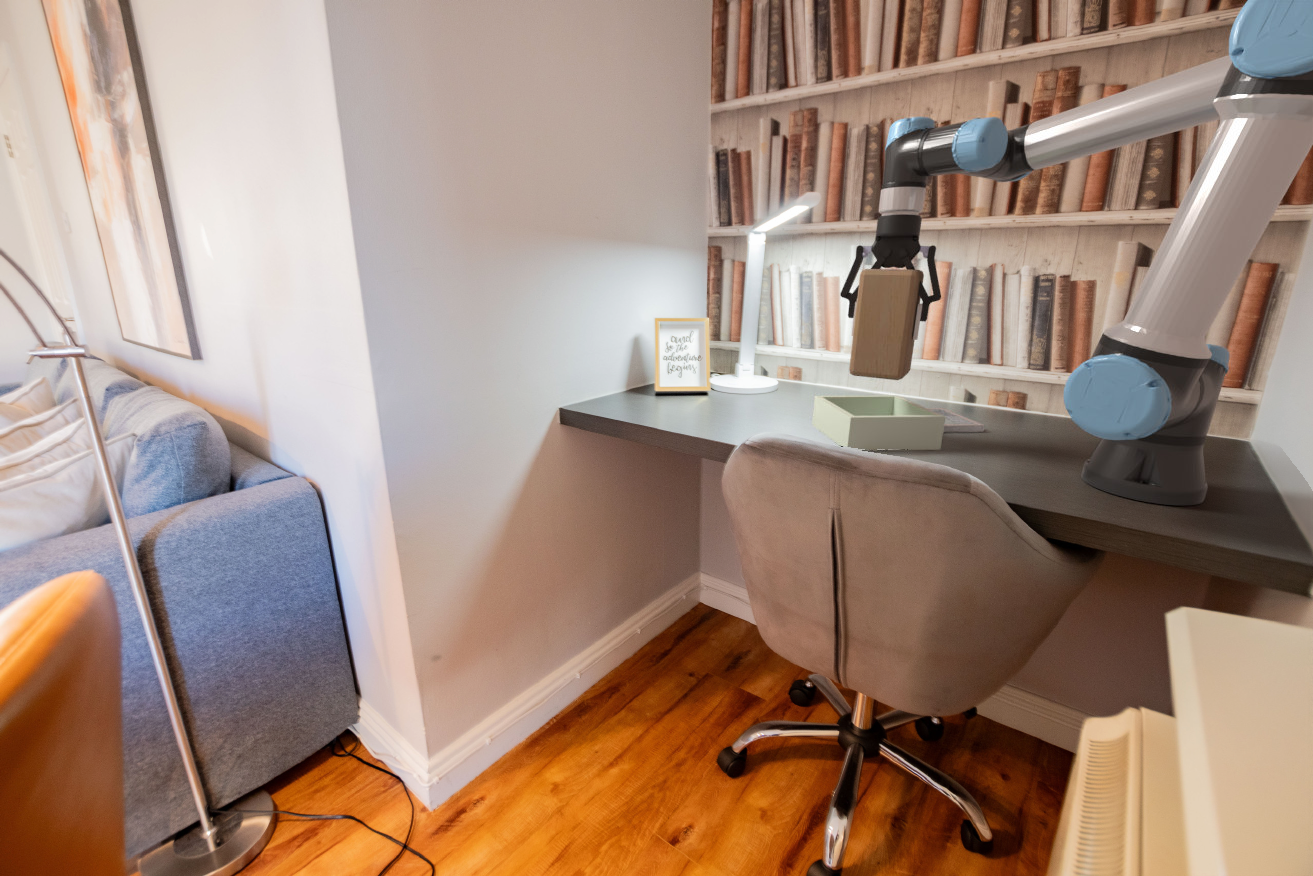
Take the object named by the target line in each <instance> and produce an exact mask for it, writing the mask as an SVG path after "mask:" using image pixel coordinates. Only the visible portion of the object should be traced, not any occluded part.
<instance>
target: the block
mask: <svg viewBox="0 0 1313 876" xmlns="http://www.w3.org/2000/svg"><path fill="white" fill-rule="evenodd" d="M924 278H925V274H924V271H922V270H920V269H915V270H907V269H906V268H905V269H904V268H896V269H895V268H893V269H892V268H883V269H882V268H880V269H871V268H865V269H861V272H860V274H859V279H858V283H859V284H858V285H859V289H858V297H857V306H856V315H855V324H854V333H853V336H852V343H851V351H850V360H849V369H848V370H849V374H850V375H852V376H854V377H863V378H864V377H865V378H875V379H882V380H893V381H899V380H900V381H901V380H902V379H903V378H904V377H905V376H907V375H908V374H909V373H910V370H911V367H912V360H913V353H914V346H915V340H913V336H914V329H915V322H916V315H917V308H918V303H919V304H921V300H922V299H921V297H920V295H919V293H918V290H919V283H920V280H921V282H922V284H924Z"/></svg>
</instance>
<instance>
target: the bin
mask: <svg viewBox="0 0 1313 876" xmlns="http://www.w3.org/2000/svg"><path fill="white" fill-rule="evenodd" d="M927 408H928V407H925V406H922V405H920V404H918V403H916V402H913V401H910V400H908V399H906V398H903V397H901V396H899V395H897V394H895V395H815V396H814V402H813V412H812V414H813V415H812V427H814V428H815V429H816V430H818V431H819V432H821V433H822V434H823V435H824V436H826V437H827V438H828V439H830V440H832V441H833V442H834V443H835V444H837V445H838V446H839V445H841V446H846V447H851V448H858V449H865V450H874V451H876V452H877V449H885V450H888V449H905V450H904V451H931V450H932V451H934V450H935V451H936V450H939V451H941V447H942V441H943V435H944V433H943V430H944V424H946V422H945V421H946V419H947V418H946V416H943V415H941V414H939V413H936V412H934V411H932V410H929V409H927ZM841 446H840V447H841ZM907 449H908V450H907ZM874 451H873V452H874ZM888 451H889V450H888Z"/></svg>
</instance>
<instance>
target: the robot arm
mask: <svg viewBox="0 0 1313 876" xmlns="http://www.w3.org/2000/svg"><path fill="white" fill-rule="evenodd" d="M1228 39H1229V40H1228V55H1224V56H1221V57H1219V58H1216V59H1213V60H1210V61H1208V62H1204V63H1202V64H1199V65H1196V66H1192V67H1190V68H1187V69H1184V70H1181V71H1179V72H1175V73H1172V74H1168V75H1166V76H1164V77H1163V76H1162V77H1161V78H1158V79H1155V80H1151V81H1148V82H1147V83H1146V82H1145V83H1143V84H1140V85H1137V86H1135V87H1132V88H1129V89H1126V90H1123V91H1121V92H1117V93H1115V94H1112V95H1108V96H1106V97H1103V98H1100V99H1096V100H1094V101H1091V102H1089V103H1085V104H1083V105H1080V106H1076V107H1074V108H1071V109H1068V110H1065V111H1062V112H1059V113H1056V114H1053V115H1050V116H1047V117H1044V118H1042V119H1039V120H1036V121H1033V122H1031V123H1029V124H1025V125H1022V126H1018V127H1016V128H1013V129H1010V130H1008V129H1007V128H1008V127H1007V126H1006V125H1005V124H1004V122H1003V120H1002V119H1001V118H999V117H996V116H991V117H976V118H973V119H969V120H967V121H962V122H958V123H952V124H947V125H943V126H938V127H936V123H935V120H934V119H933V118H931V117H927V116H914V117H905V118H902V119H897V120H895V121H894V122H893V123H892V124H891V125H890V127H889V130H888V135H887V140H886V144H885V145H886V146H885V147H884V152H885V153H884V164H883V176H882V185H881V189H880V196H879V203H878V204H879V205H878V213H879V214H881V216H878V218H877V221H876V232H875V238H874V242H873V244H872V245H861V244H859V245H858V246H856V248H855V259H854V262H853V264H852V265H851V268H850V271H849V273H848V276H847V278H846V279H845V282H844V285H843V287H842V289H841V291H840V297H841V298H844V299H846V300H848V302H849V305H848V313H847V316H848V319H853V320H852V327H851V337H853V333H854V324H855V315H856V306H857V297H858V289H859V284H858V285H857V287H855V289H854V290H853V292H850V291H851V289H852V287H853V286H854V282H855V280H856V277H857V276H858V273H859V271H860V269H861V266H862V263H863V262H864V258H867V257H868V255H869V253H871V252H872V255H873V256H874V258H875V259H876V260H875V262H874V264H873V265H872V266H871V268H870V269H882V268H883V269H892V268H896V269H904V268H905V270H916V268H915V266H914V263H913V259H915V257H917V255H919V253H922V257H923V258H925V259H926V261H927V268H928V274H929V279H930V283H931V284H930V285H931V289H932V294H931V295H928V292H927V290H926V289H925V286H924V285H923V284H924V283H923V284H922V282H921V280H920V283H919V290H918V293H919V295H920V297H921V299H920V300H921V301H922V303H920V304H919V303H918V308H917V315H916V322H915V329H914V336H913V340H914V341H915V340H916V341H918V338H919V330H920V324H921V322H926V321H927V320H928V315H929V309H930V305H931V304H932V303H935V302H938V301H940V300H941V299H942V294H941V293H942V292H941V286H940V283H939V278H938V272H937V266H936V261H935V257H936V252H937V246H936V245H934V244H933V245H921V244H920V234H921V227H922V219H923V217H922V216H921V215H920V214H921V213H922V212H924V205H925V199H926V193H927V192H926V191H927V184H928V178H929V177H936V176H945V175H953V174H954V175H955V174H957V175H958V174H959V175H963V176H964V175H965V176H970V177H975V178H976V177H977V178H982V179H987V180H988V179H989V180H993V181H995V182H999V183H1007V182H1012V183H1013V182H1017V181H1020V180H1023V179H1024V178H1026V177H1028V176H1029V175H1030V174H1031V173H1032V172H1034V171H1037V170H1041V169H1045V168H1049V167H1052V166H1056V165H1059V164H1062V163H1067V162H1069V161H1070V162H1071V161H1074V160H1076V159H1081V158H1084V157H1087V156H1092V155H1094V154H1099V153H1103V152H1107V151H1110V150H1114V149H1117V148H1122V147H1125V146H1127V145H1131V144H1135V143H1139V142H1142V141H1143V142H1144V141H1145V140H1146V141H1147V140H1149V139H1154V138H1157V137H1160V136H1164V135H1168V134H1172V133H1174V132H1175V133H1176V132H1179V131H1182V130H1186V129H1190V128H1193V127H1197V126H1200V125H1205V124H1207V123H1211V122H1215V121H1218V120H1220V123H1219V125H1218V127H1217V129H1216V131H1215V132H1214V135H1213V137H1212V139H1211V141H1210V144H1208V147H1207V150H1206V151H1205V153H1204V156H1203V157H1202V159H1201V161H1200V163H1199V166H1197V167H1198V168H1197V170H1196V172H1195V174H1194V175H1193V177H1192V180H1191V182H1190V183H1189V186H1188V188H1187V189H1186V191H1185V194H1184V196H1183V197H1182V201H1181V203H1180V204H1179V206H1178V208H1177V210H1176V212H1175V215H1174V217H1173V219H1172V220H1171V223H1170V225H1169V227H1168V229H1167V231H1166V233H1165V235H1164V237H1163V239H1162V241H1161V242H1160V246H1159V248H1158V249H1157V251H1156V254H1155V256H1154V257H1153V260H1152V262H1151V263H1150V266H1149V268H1148V269H1147V271H1146V274H1145V275H1144V278H1143V280H1142V282H1141V284H1140V286H1139V288H1138V290H1137V292H1136V294H1135V297H1134V298H1133V300H1132V301H1131V302H1132V303H1131V304H1130V307H1129V309H1128V311H1127V313H1126V315H1125V316H1124V319H1123V320H1121V322H1119V323H1117V324H1114V325H1112V326H1110V327H1107V328H1105V329H1104V331H1103V332H1102V335H1101V337H1100V339H1099V341H1098V342H1097V345H1096V347H1095V349H1094V351H1093V352H1092V355H1091V357H1090V359H1087V360H1086V361H1084V362H1082V363H1080V364H1079V365H1078V366H1077V367H1076V368H1075V369H1074V370H1073V371H1072V372H1071V373H1070V375H1069V376H1068V378H1067V380H1066V382H1065V385H1064V388H1063V404H1064V407H1065V410H1066V411H1067V413H1068V415H1069V416H1070V419H1071V420H1072V422H1073V423H1075V424H1076V425H1077V426H1078V427H1079V428H1080V429H1082V430H1083V431H1084V432H1086V433H1088V434H1090V435H1091V436H1094V437H1097V438H1100V441H1099V442H1098V444H1097V445H1096V446H1095V449H1094V450H1093V452H1092V454H1091V455H1090V457H1089V458H1088V459H1086V460H1085V462H1084V463H1083V467H1082V471H1081V475H1080V477H1081V479H1082V481H1083V482H1085V483H1086V484H1087V485H1090V486H1091V487H1094V488H1096V489H1099V490H1100V491H1103V492H1106V493H1109V494H1112V495H1116V496H1119V497H1123V498H1126V499H1131V500H1134V501H1138V502H1139V501H1141V502H1145V503H1152V504H1158V505H1168V506H1194V505H1199V504H1202V503H1203V502H1204V501H1205V498H1206V494H1207V491H1208V487H1209V486H1208V481H1206V471H1205V470H1206V469H1205V467H1206V466H1205V459H1204V448H1205V447H1204V446H1205V442H1206V439H1207V436H1208V433H1209V429H1210V426H1211V423H1212V419H1213V416H1214V413H1215V411H1216V407H1217V404H1218V400H1219V396H1220V394H1221V390H1222V387H1223V385H1224V384H1223V383H1224V381H1225V377H1226V375H1227V374H1228V372H1229V370H1230V367H1229V362H1230V357H1231V356H1230V355H1231V353H1230V350H1228V349H1227V348H1226V347H1225V346H1223V345H1222V346H1221V345H1217V344H1209V343H1206V339H1205V338H1206V336H1207V334H1208V333H1209V331H1210V329H1211V327H1212V325H1213V324H1214V323H1215V320H1216V318H1217V317H1218V315H1219V312H1221V309H1222V308H1223V306H1224V304H1225V302H1226V300H1227V298H1228V297H1229V295H1230V293H1231V291H1232V290H1233V288H1234V286H1235V284H1236V283H1237V280H1238V279H1239V277H1240V276H1241V274H1242V272H1243V270H1244V268H1245V267H1246V265H1247V263H1248V261H1249V259H1250V258H1251V256H1252V253H1253V252H1254V251H1255V249H1256V247H1257V245H1258V243H1259V241H1260V239H1261V238H1262V236H1263V235H1264V233H1265V230H1266V229H1267V227H1268V226H1269V223H1270V222H1271V220H1272V218H1273V216H1274V214H1275V213H1276V211H1277V210H1278V208H1279V206H1280V204H1281V202H1282V201H1283V198H1284V196H1285V195H1286V193H1287V192H1288V189H1289V188H1290V186H1291V184H1292V182H1293V180H1294V179H1295V177H1296V176H1297V174H1298V172H1299V170H1300V168H1301V167H1302V164H1303V163H1304V161H1305V159H1306V157H1307V156H1308V154H1309V152H1310V150H1311V149H1312V147H1313V0H1247V1H1246V2H1245V4H1244V5H1243V6H1242V8H1240V11H1239V13H1238V14H1237V16H1236V18H1235V20H1234V22H1233V23H1232V26H1231V30H1230V34H1229V38H1228Z"/></svg>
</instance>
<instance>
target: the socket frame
mask: <svg viewBox="0 0 1313 876" xmlns="http://www.w3.org/2000/svg"><path fill="white" fill-rule="evenodd" d="M926 408H927V409H929V410H932V411H934V412H936V413H939V414H941V415H943V416H946V418H945V419H947V420H950V421H952V422H954V423H945V424H944V430H943V434H944V433H984V431H985V427H986V426H985V424H982V423H980V422H978V421H976V420H973V419H970V418H968V417H965V416H964V415H961V414H959V413H956V412H953V411H951V410H949V409H946V408H944V407H926Z"/></svg>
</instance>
